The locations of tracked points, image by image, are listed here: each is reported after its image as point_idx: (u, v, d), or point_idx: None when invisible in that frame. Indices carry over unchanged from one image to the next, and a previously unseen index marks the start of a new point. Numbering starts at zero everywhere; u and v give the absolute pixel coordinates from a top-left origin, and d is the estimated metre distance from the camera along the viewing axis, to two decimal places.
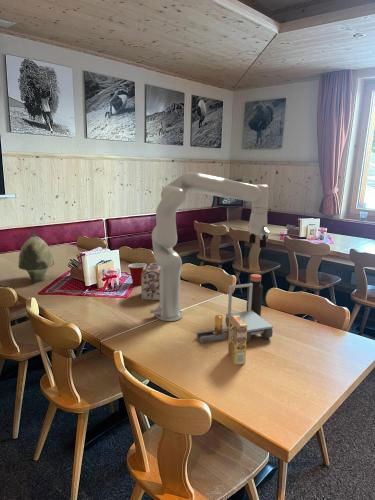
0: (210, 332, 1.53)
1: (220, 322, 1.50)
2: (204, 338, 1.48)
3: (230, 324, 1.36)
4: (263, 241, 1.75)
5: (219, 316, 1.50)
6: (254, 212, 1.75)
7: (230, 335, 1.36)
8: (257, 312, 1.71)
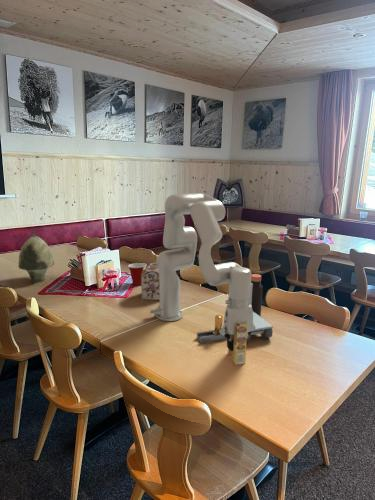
0: (210, 332, 1.53)
1: (220, 322, 1.50)
2: (204, 338, 1.48)
3: None
4: None
5: (219, 316, 1.50)
6: (247, 306, 1.29)
7: None
8: (257, 312, 1.71)
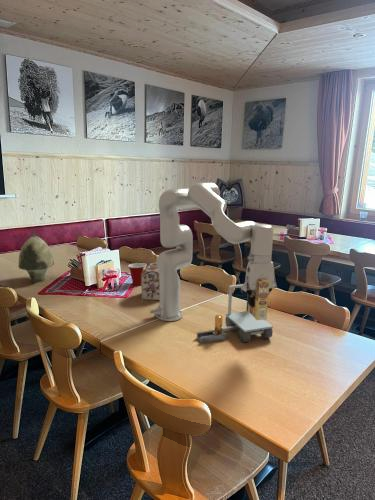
0: (210, 332, 1.53)
1: (220, 322, 1.50)
2: (204, 338, 1.48)
3: None
4: None
5: (219, 316, 1.50)
6: (268, 262, 1.31)
7: None
8: None
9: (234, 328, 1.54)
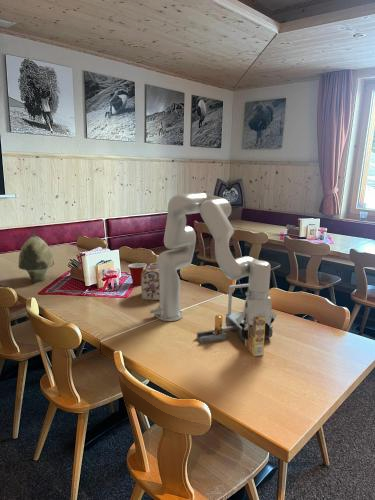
0: (210, 332, 1.53)
1: (220, 322, 1.50)
2: (204, 338, 1.48)
3: None
4: None
5: (219, 316, 1.50)
6: (266, 298, 1.35)
7: (248, 328, 1.42)
8: None
9: (234, 328, 1.54)
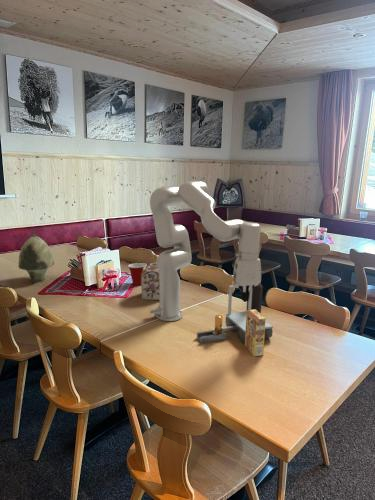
0: (210, 332, 1.53)
1: (220, 322, 1.50)
2: (204, 338, 1.48)
3: (248, 318, 1.41)
4: None
5: (219, 316, 1.50)
6: (255, 259, 1.37)
7: (248, 328, 1.42)
8: None
9: (234, 328, 1.54)
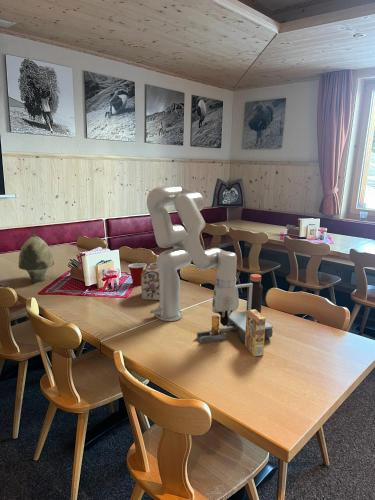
0: (210, 332, 1.53)
1: (217, 322, 1.49)
2: (204, 338, 1.48)
3: (248, 318, 1.41)
4: None
5: (216, 316, 1.50)
6: (232, 286, 1.45)
7: (248, 328, 1.42)
8: None
9: (231, 328, 1.53)
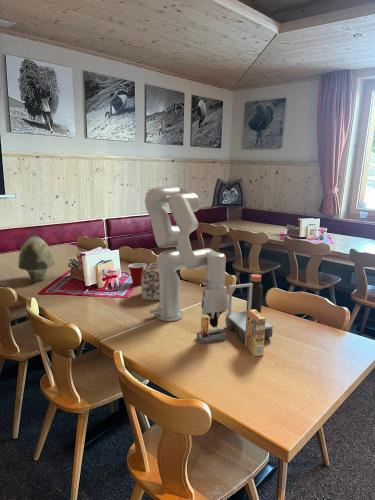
0: None
1: (206, 324, 1.48)
2: (204, 338, 1.48)
3: (248, 318, 1.41)
4: None
5: (205, 318, 1.48)
6: (222, 287, 1.44)
7: (248, 328, 1.42)
8: None
9: (221, 330, 1.52)
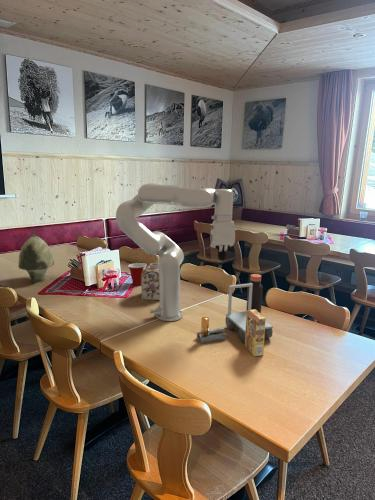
0: None
1: (206, 324, 1.48)
2: (204, 338, 1.48)
3: (248, 318, 1.41)
4: None
5: (205, 318, 1.48)
6: (229, 220, 1.55)
7: (248, 328, 1.42)
8: None
9: (221, 330, 1.52)
